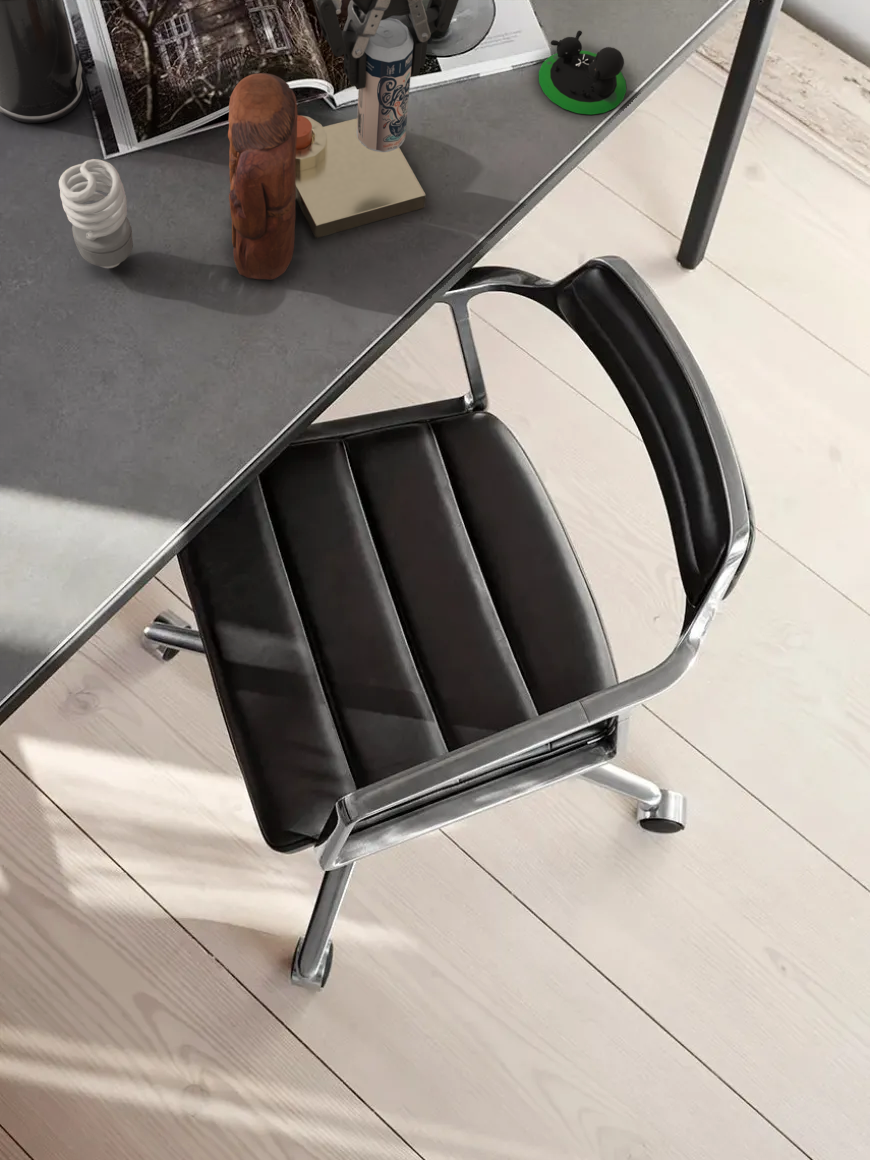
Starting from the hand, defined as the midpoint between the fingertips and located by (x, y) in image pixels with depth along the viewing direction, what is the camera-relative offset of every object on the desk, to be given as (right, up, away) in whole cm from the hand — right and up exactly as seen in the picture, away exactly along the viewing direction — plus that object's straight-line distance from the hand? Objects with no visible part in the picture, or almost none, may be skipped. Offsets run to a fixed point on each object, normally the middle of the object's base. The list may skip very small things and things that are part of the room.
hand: (383, 75), depth 103 cm
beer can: (-1, -3, +7) cm, 8 cm away
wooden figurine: (-12, -12, +9) cm, 20 cm away
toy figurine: (+21, +9, +22) cm, 32 cm away
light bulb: (-27, -16, +6) cm, 32 cm away
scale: (-4, -5, +13) cm, 15 cm away
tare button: (-9, -2, +11) cm, 14 cm away
